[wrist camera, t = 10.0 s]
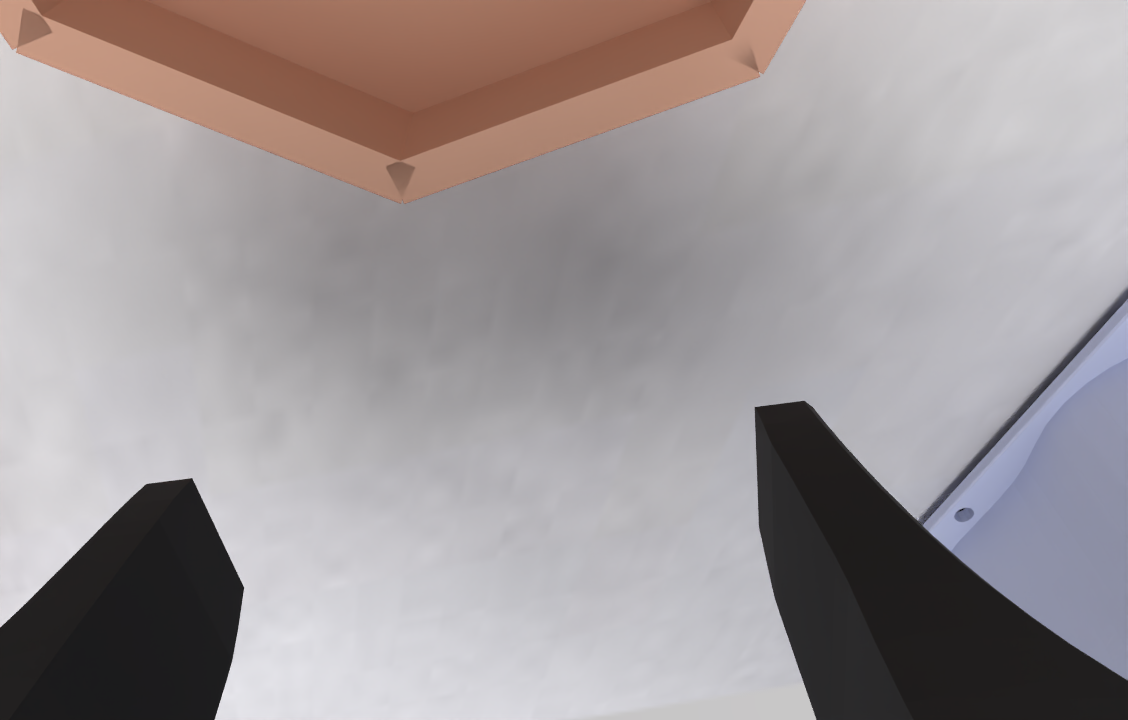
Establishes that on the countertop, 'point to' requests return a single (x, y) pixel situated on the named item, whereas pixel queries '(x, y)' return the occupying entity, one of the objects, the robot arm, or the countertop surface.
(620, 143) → the countertop surface
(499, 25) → the octagonal tray
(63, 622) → the robot arm
